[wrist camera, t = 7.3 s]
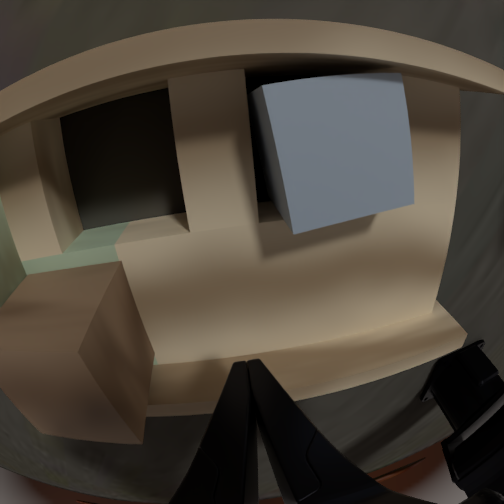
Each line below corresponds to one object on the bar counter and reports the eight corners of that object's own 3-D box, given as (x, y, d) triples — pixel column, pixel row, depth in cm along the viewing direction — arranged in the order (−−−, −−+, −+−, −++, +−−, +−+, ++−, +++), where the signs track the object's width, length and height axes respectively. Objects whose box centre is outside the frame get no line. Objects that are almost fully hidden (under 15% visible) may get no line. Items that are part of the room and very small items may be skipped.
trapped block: (359, 174, 13) (414, 203, 9) (268, 195, 13) (293, 234, 9) (344, 81, 11) (400, 72, 7) (244, 96, 11) (261, 85, 7)
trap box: (419, 298, 17) (461, 347, 13) (80, 349, 15) (57, 411, 11) (438, 72, 11) (509, 73, 6) (4, 121, 9) (-65, 137, 5)
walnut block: (154, 353, 13) (142, 444, 8) (69, 356, 13) (41, 433, 8) (121, 260, 11) (77, 352, 6) (28, 274, 10) (-29, 347, 6)
